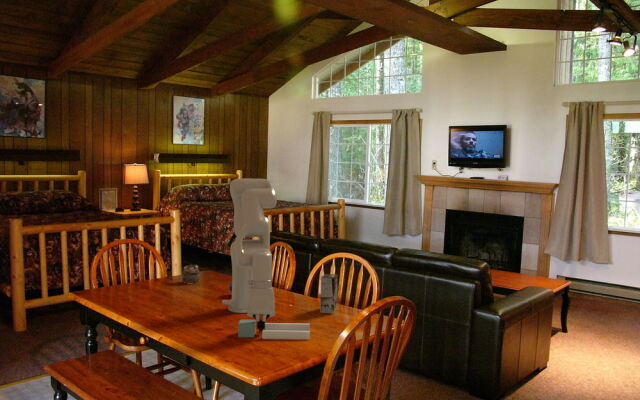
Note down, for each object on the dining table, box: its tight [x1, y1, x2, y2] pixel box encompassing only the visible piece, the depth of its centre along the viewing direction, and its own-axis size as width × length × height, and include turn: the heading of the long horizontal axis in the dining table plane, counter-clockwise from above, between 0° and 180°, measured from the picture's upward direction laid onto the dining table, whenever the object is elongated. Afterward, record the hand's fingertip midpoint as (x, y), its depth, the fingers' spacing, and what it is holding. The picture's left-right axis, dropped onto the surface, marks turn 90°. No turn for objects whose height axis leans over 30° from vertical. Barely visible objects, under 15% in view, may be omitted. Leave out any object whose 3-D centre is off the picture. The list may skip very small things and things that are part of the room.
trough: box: [261, 322, 311, 341], centre depth 210 cm, size 18×10×3 cm, turn 92°
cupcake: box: [181, 263, 200, 283], centre depth 295 cm, size 10×10×10 cm
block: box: [237, 319, 257, 338], centre depth 209 cm, size 6×6×5 cm
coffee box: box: [319, 273, 339, 315], centre depth 245 cm, size 9×6×16 cm
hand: (261, 330), depth 210 cm, fingers closed
